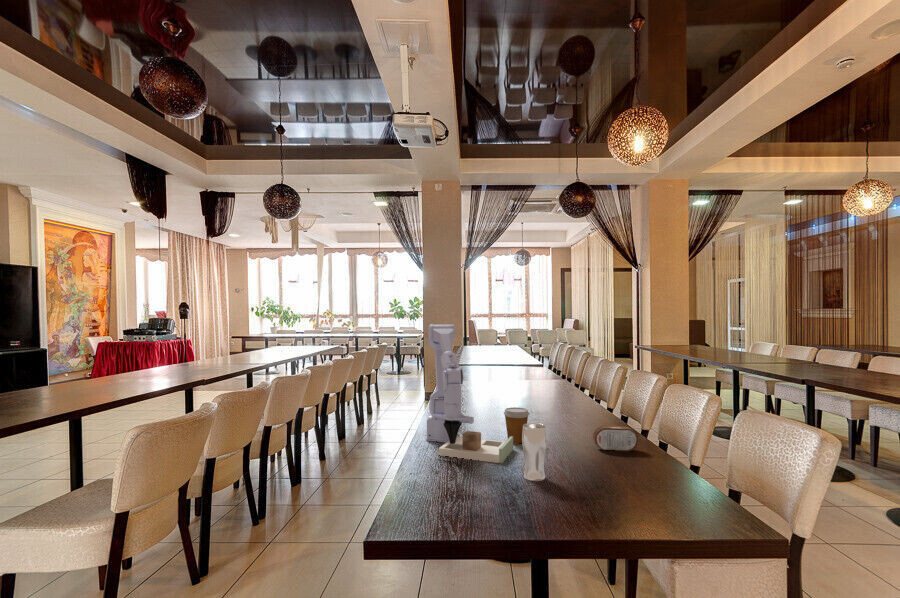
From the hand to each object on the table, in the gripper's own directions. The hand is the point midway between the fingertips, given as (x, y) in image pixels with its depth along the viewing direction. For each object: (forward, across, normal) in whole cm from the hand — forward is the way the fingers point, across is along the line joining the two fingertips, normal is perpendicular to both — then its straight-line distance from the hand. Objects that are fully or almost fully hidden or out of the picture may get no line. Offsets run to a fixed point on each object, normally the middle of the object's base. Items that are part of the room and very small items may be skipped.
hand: (452, 442), depth 155 cm
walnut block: (+1, +7, 0) cm, 7 cm away
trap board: (+4, +7, +4) cm, 9 cm away
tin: (+4, +52, +24) cm, 58 cm away
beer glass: (+4, +30, -13) cm, 33 cm away
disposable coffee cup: (+4, +17, +22) cm, 28 cm away
